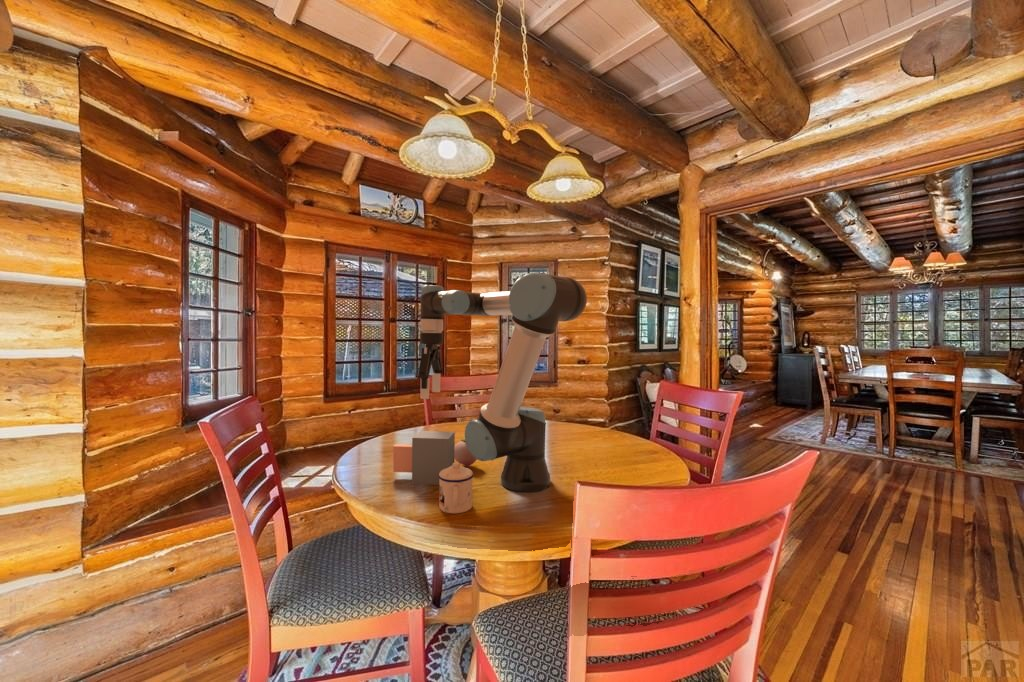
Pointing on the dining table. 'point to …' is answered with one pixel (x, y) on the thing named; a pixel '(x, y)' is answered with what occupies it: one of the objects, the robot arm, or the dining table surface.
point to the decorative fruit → (463, 454)
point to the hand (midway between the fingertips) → (430, 395)
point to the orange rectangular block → (402, 458)
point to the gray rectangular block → (431, 455)
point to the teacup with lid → (455, 489)
